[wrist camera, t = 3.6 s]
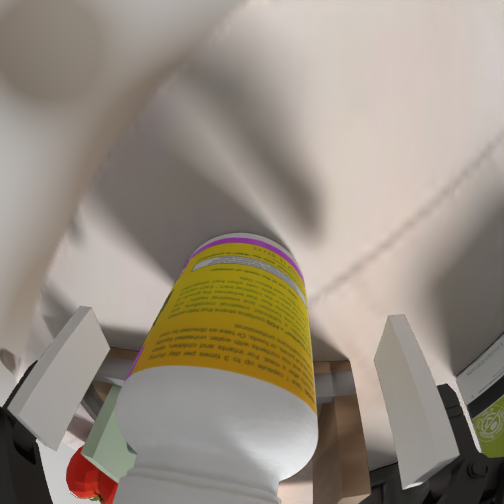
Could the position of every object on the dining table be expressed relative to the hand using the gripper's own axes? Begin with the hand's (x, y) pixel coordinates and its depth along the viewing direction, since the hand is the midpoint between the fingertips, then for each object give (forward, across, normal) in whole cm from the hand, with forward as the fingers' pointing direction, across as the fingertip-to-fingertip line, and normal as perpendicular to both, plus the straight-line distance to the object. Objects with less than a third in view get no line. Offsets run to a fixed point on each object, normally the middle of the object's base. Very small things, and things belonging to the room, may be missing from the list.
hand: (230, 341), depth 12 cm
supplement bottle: (+5, 0, 0) cm, 5 cm away
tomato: (+5, +22, +34) cm, 41 cm away
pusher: (+3, +7, +12) cm, 15 cm away
